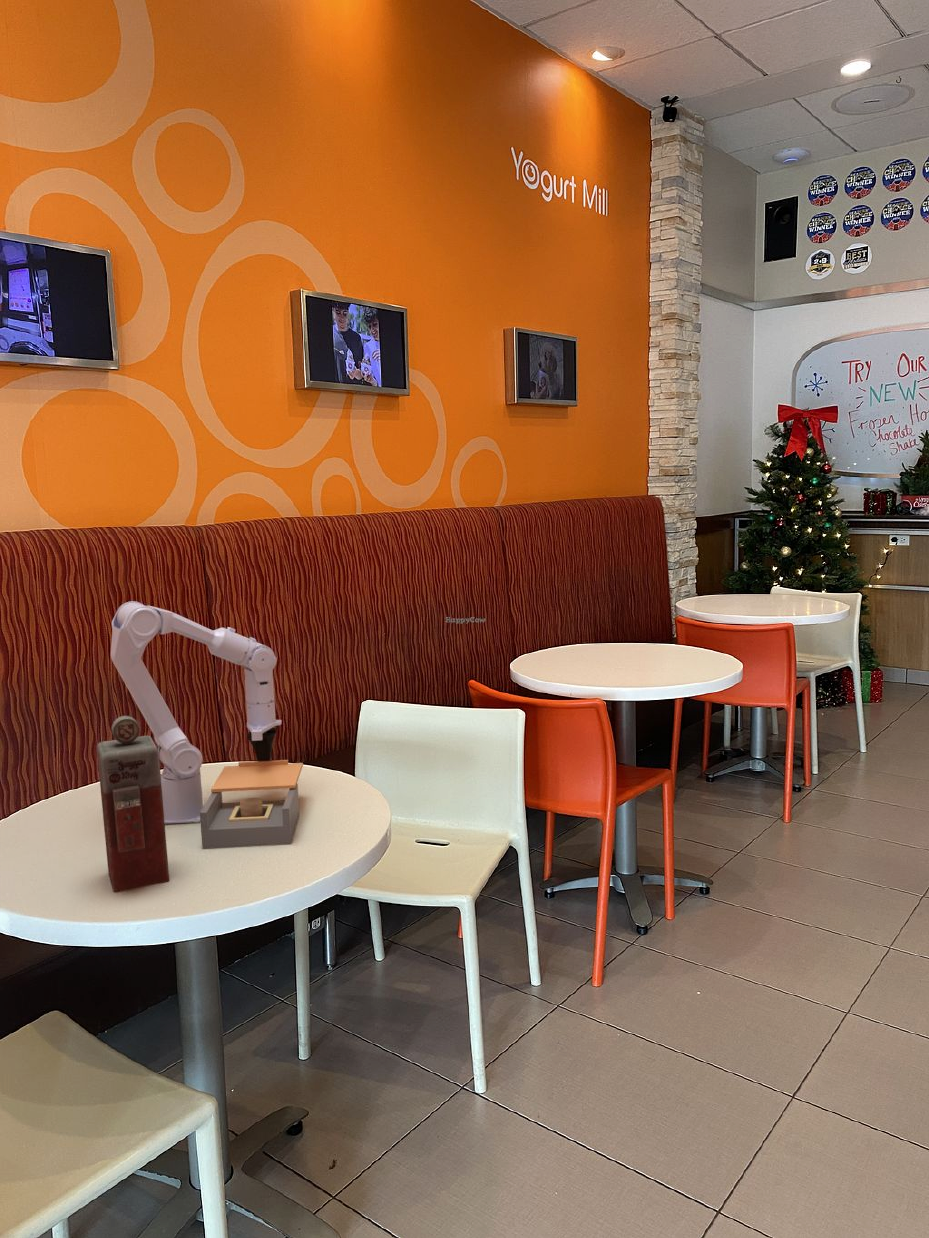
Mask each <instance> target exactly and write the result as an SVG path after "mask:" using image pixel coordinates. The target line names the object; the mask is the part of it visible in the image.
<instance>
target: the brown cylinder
mask: <svg viewBox="0 0 929 1238" xmlns="http://www.w3.org/2000/svg"><path fill="white" fill-rule="evenodd" d="M262 801H263V800H262V799H261V798H259V797H258V798H257V797H250V798H245V799H242V800H241V801H239V802H240V808H241V817H260V816H263V811H262Z"/></svg>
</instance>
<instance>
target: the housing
mask: <svg viewBox="0 0 929 1238" xmlns="http://www.w3.org/2000/svg"><path fill="white" fill-rule="evenodd" d="M298 787H299V786H298V783H297V784H296V787H295V788H288V791H287V794H286V798H285V799H281V800H280V799H277V800H262V811H263V816H260V817H241V808H240V802H241V801H239V802H237V801H236V802H234V801H233V802H223V792H211V793H210V795H209V796H208V799H207V800H206V802H205V803H204V804H203V806H204V807H203V808H202V810H201V812H200V822H199V823H200V832H201V833H200V834H201V847H202V848H201V849H221V848H224V849H225V848H237V847H240V848H241V847H242V848H243V847H255V846H257V847H261V846H277V845H279V846H280V845H291V844H292V842H293V840H294V839H293V838H294V836H295V831H296V829H297V825H298V822H299V819H300V804H299V789H298Z"/></svg>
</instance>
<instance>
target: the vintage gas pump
mask: <svg viewBox="0 0 929 1238" xmlns="http://www.w3.org/2000/svg"><path fill="white" fill-rule="evenodd" d="M140 729H141V728H140V726H139V723H138V722H137V720H136V719H135V718H134V717H132V716H130V715H122V716H119V717H117V718H116V719H114V721H113V722H112V725H111V733H112V736H113V738H114V739H112V740H106V741H100V742H98V743H97V745H96V753H97V765H98V776H99V785H100V796H101V797H100V798H101V807H102V820H103V829H104V839H105V840H104V841H105V851H106V862H107V873H108V877H109V881H110V885H111V889H112V892H113V893H119V892H123V891H125V892H126V891H128V890H129V891H130V890H134V889H139V888H145V887H148V886H154V885H157V884H162V883H167V882H170V870H169V859H168V847H167V835H166V834H167V833H166V824H165V821H164V809H163V797H162V785H161V774H162V772H161V765H160V762H161V760H160V759H159V752H158V746H156V745H157V744H155V741H154V740H153V738H152V737H151V736H150V735H141V736H139V734H140Z"/></svg>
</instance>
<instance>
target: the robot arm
mask: <svg viewBox="0 0 929 1238" xmlns="http://www.w3.org/2000/svg"><path fill="white" fill-rule="evenodd" d="M111 629H112V632H111V633H112V635H111V644H110V645H111V646H110V647H111V648H110V659H111V662H112V663H113V665H114V666H115V669H116V671H117V672H118V674H119V676H120V677H121V679H122V681H123V682H124V685H125V687H126V688H127V690H128V691H129V693H130V695H131V697H132V698H133V700H134V702H135V704H136V706H137V708H138V710H139V711H140V713H141V715H142V716H143V718H144V720H145V722H146V724H147V725H148V727H149V728H150V731H151V733H152V734H153V738H154V742H155V743H156V745H157V749H158V752H159V761H160V762H161V763H162V764H163V765H164V767H163V769H162V772H161V785H162V797H163V809H164V821H165V825H166V824H167V825H168V824H185V823H187V824H189V823H200V812H201V810H202V808H203V807H204V803H203V789H202V777H201V768H202V765H203V755H202V753H201V751H200V750H199V748H198V747H196V746H194V745H192V743H190V740H189V739H188V737H187V736H186V735H185V733H184V732H183V730H182V729H181V728H180V727H179V725H178V723H177V722H176V720H175V718H174V716H173V714H172V713H171V710H170V709H169V706H168V705H167V703H166V701H165V699H164V697H163V695H162V694H161V693H160V691H159V689H158V687H157V684H156V683H155V681H154V679H153V677H152V676H151V674H150V673H149V670H148V669H147V667H146V665H145V662H143V659H142V657H143V654H144V652H145V650H146V647H147V645H148V644H149V643H150V642H151V641H152V640H153V638H154V637H155V636H156V635H157V634H160V635H166V634H169V633H176V634H178V635H181V636H183V637H186V638H189V639H191V640H194V641H195V642H200V643H201V644H204V645H205V646H207V648H208V651H209V653H210V654H211V655H213V656H216V657H217V658H220V659H222V660H225V661H227V662H230V663H233V664H234V665H235V664H236V665H238V666H242V667H243V670H244V687H245V688H244V689H245V707H246V720H247V722H246V728H247V729H248V730H249V732H248V733H247V734H246V736H247V740H248V741H249V743H250V745H252V748H253V751H254V753H255V757H256V761H272V760H271V759H272V753H273V752H272V751H273V750H272V749H273V744H274V740H275V737H276V734H277V731H278V728H277V727H276V726H281V725H282V724H283V723H282V719H276V704H275V686H274V676H273V675H274V673H273V672H274V671H273V670H274V669H275V667H276V665H277V661H278V658H277V657H276V656H275V652H274V651H273V650H272V648H270V647H269V646H268V645H265V644H262V643H260V642H258V641H257V639H256V638H254V637H252V636H250V637H249V638H248V637H246V636H243V635H241V634H239V633H236V629H235V628H233V627H229V626H228V627H227V628H225V627H219V628H216V629H214V630H212V629H210V628H208V627H205V626H204V625H201V624H200V623H197V622H195V621H194V620H191V619H189V618H186V617H184V616H181V615H180V614H177V613H176V612H172V611H170V610H166V609H163V608H160V607H156V606H151V605H149V604H147V605H145V604H143V603H141V602H139V601H135V600H134V601H133V600H131V601H130V600H129V601H128V602H125V603H123V604H121V605H120V606H119V607H118V608H117V610H116V612H115V615H114V617H113V619H112V621H111Z"/></svg>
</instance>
